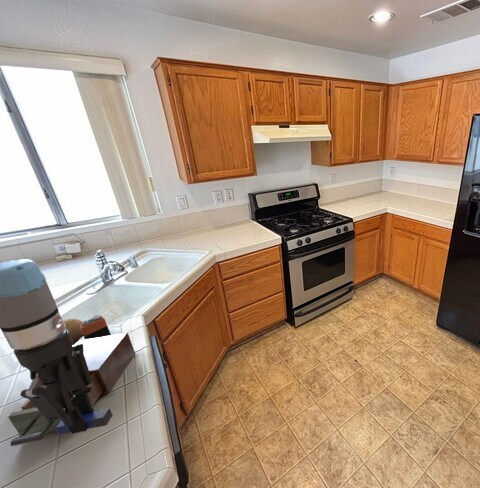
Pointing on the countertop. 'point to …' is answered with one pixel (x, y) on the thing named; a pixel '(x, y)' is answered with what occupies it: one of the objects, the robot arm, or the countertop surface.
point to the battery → (94, 328)
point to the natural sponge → (74, 329)
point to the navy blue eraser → (89, 420)
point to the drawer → (36, 425)
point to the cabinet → (108, 357)
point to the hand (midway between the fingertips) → (84, 424)
